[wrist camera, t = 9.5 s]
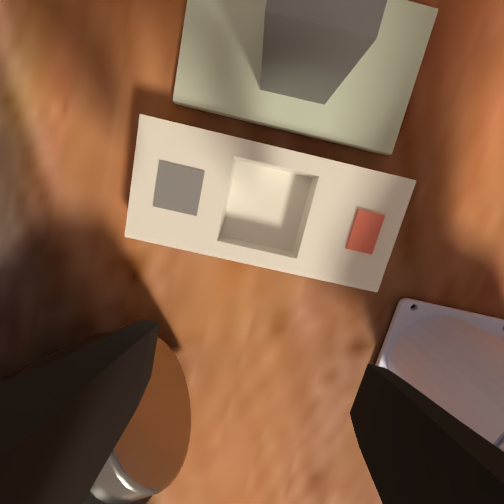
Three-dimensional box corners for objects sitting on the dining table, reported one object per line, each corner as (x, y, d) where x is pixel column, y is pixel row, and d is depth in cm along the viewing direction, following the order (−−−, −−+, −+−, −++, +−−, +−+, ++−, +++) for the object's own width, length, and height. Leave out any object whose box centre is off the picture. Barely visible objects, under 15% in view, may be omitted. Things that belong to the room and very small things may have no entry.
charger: (343, 30, 15) (416, -104, 8) (324, 104, 16) (376, 38, 9) (275, 13, 15) (293, -137, 8) (260, 89, 16) (265, 11, 9)
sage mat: (431, 15, 16) (438, 8, 15) (387, 155, 17) (391, 154, 17) (198, -47, 15) (195, -57, 14) (175, 104, 17) (172, 100, 16)
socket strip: (394, 182, 18) (418, 180, 15) (361, 279, 19) (378, 293, 16) (156, 125, 17) (138, 112, 14) (141, 231, 18) (123, 237, 16)
